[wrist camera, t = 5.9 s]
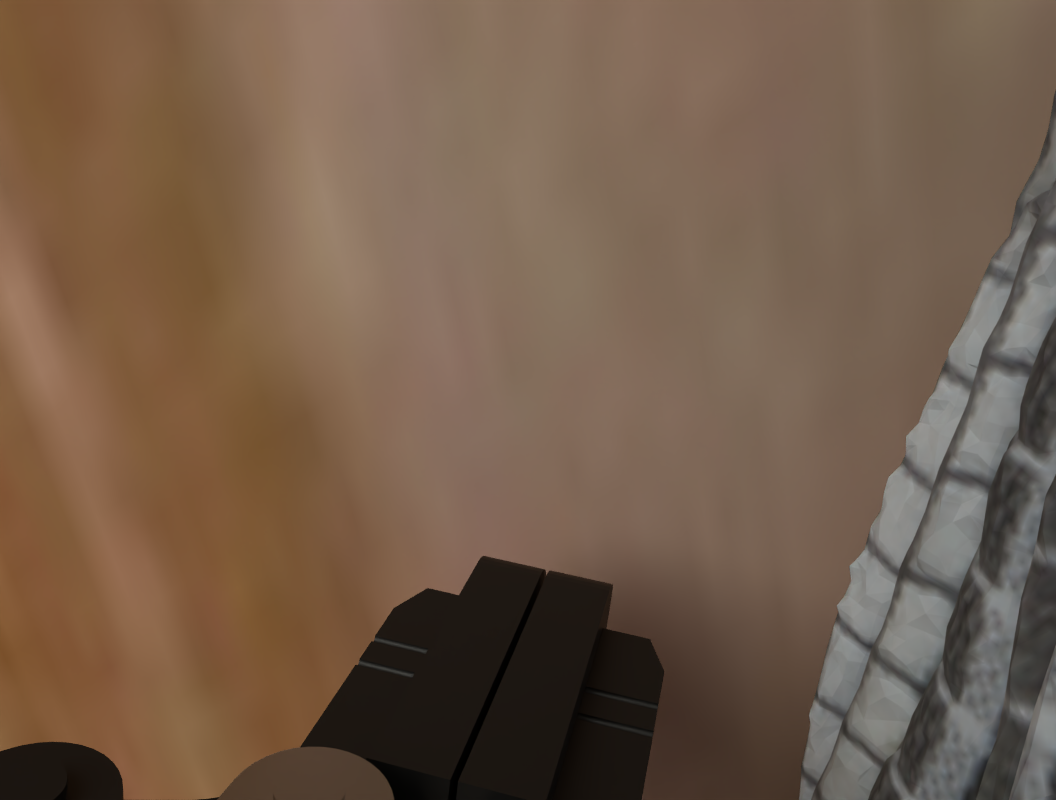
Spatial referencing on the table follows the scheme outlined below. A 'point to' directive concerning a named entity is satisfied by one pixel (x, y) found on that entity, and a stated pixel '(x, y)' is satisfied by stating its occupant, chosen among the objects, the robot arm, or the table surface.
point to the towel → (960, 564)
